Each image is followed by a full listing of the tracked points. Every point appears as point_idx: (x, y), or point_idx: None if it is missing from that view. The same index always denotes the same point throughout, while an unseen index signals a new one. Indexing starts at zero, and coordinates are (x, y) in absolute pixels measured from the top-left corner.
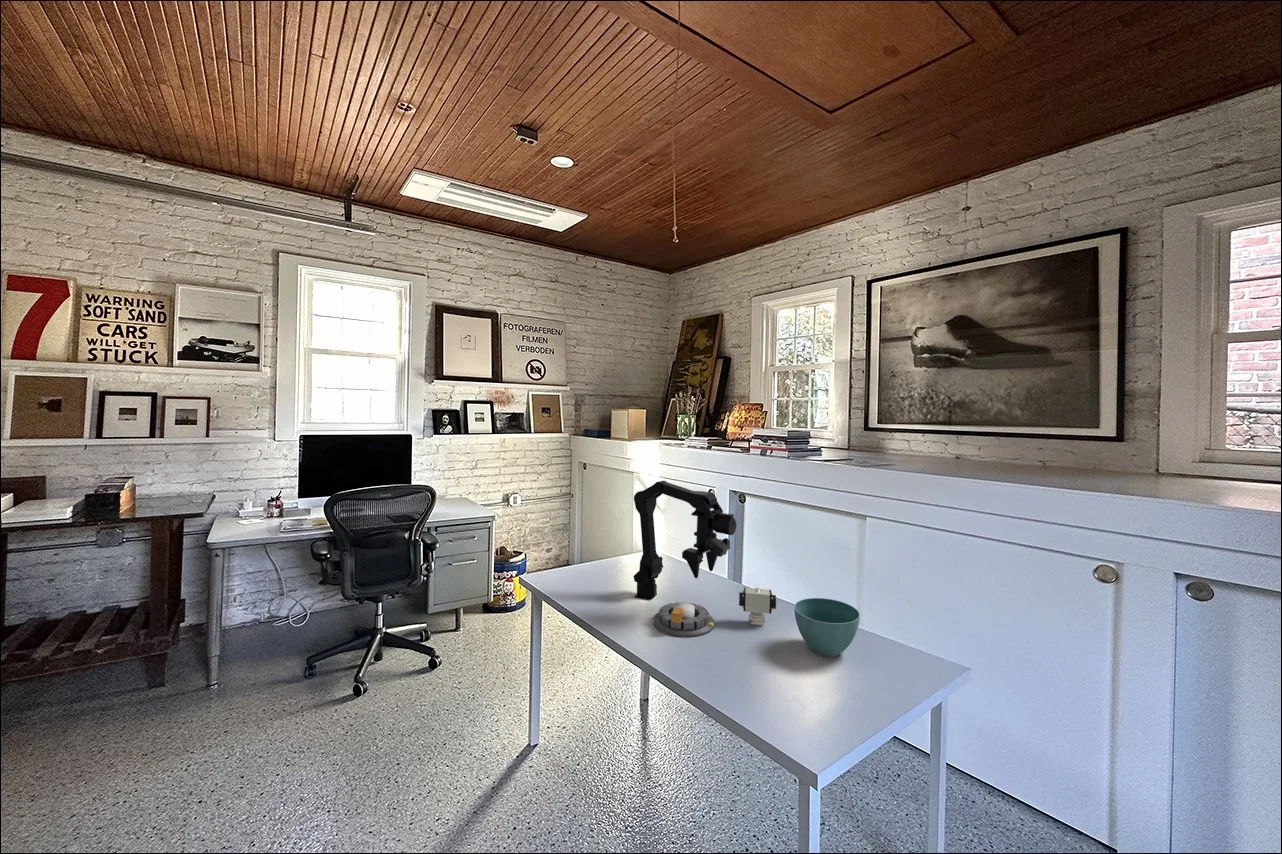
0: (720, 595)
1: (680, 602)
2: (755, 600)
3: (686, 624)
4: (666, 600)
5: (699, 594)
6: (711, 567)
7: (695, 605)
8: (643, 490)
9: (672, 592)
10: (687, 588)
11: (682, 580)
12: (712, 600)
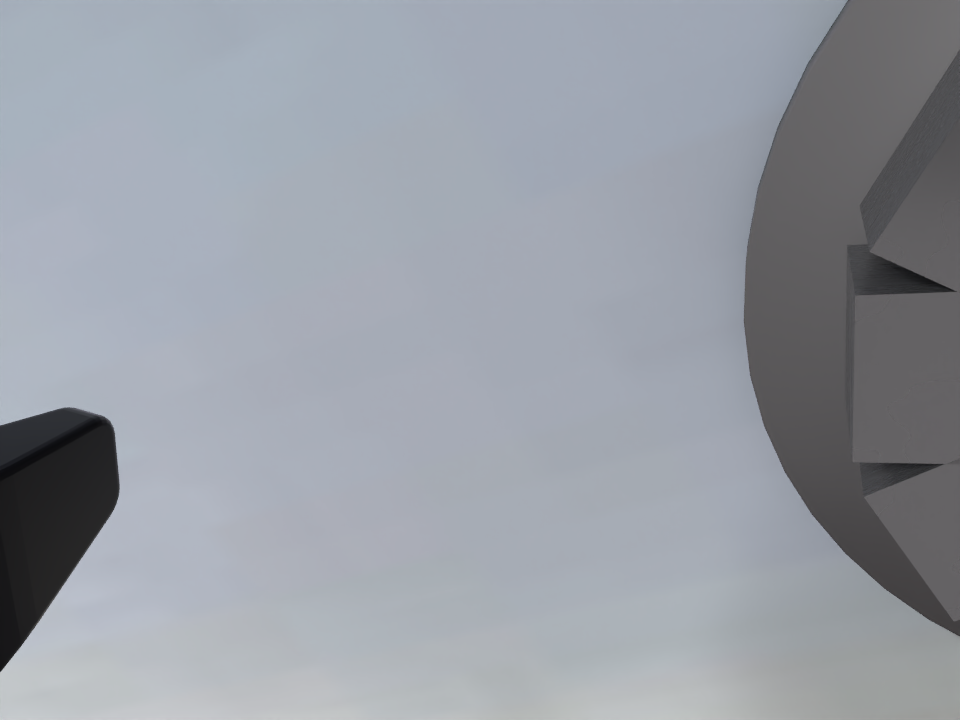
0: (19, 149)
1: (904, 542)
2: None
3: None
4: (571, 667)
5: (181, 396)
6: (12, 516)
7: (898, 288)
8: None
9: (333, 657)
10: (138, 552)
11: None
12: (226, 186)
